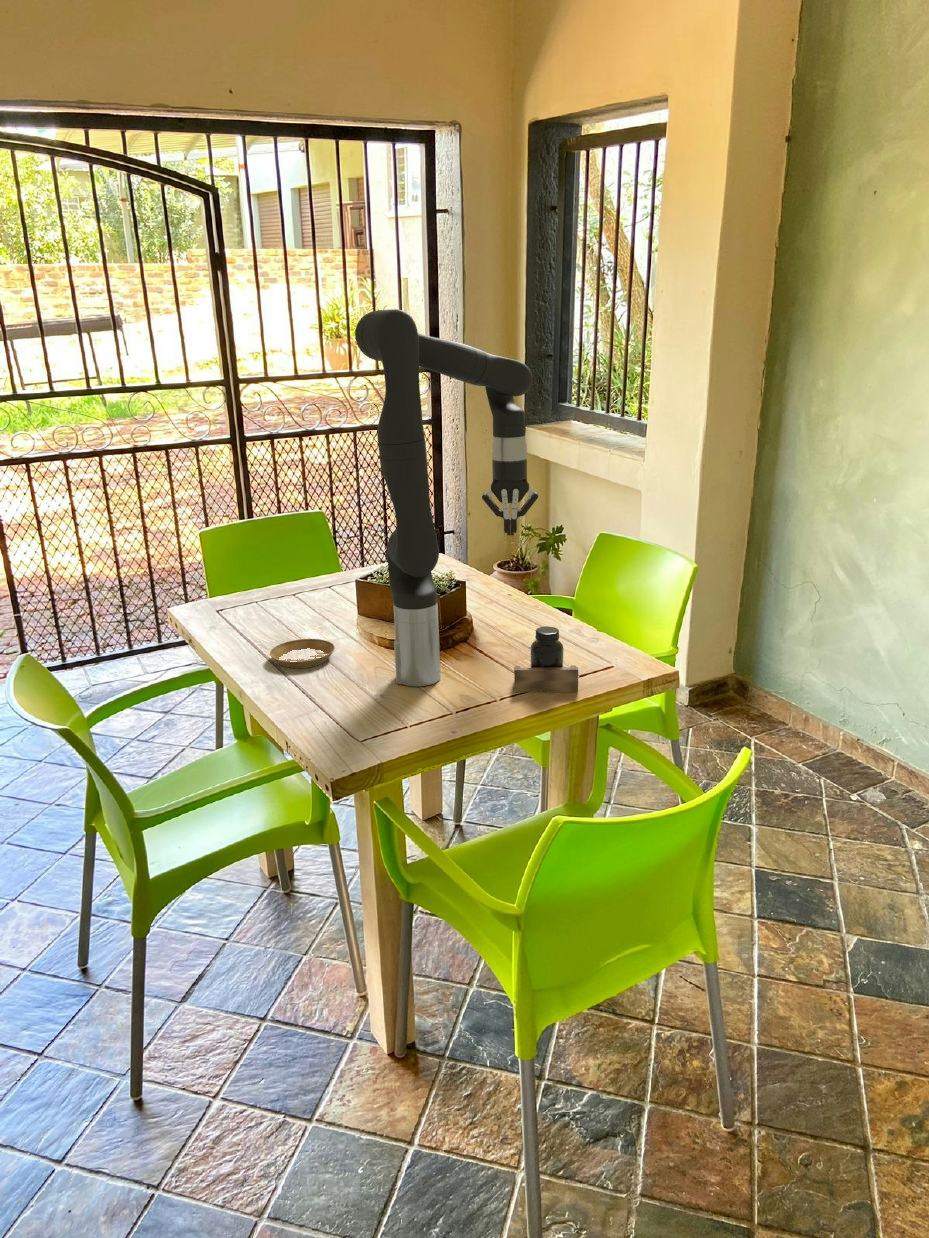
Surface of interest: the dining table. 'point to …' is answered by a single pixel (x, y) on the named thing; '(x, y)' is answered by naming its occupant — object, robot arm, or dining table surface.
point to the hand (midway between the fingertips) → (510, 534)
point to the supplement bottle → (546, 648)
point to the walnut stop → (546, 679)
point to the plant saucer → (298, 645)
